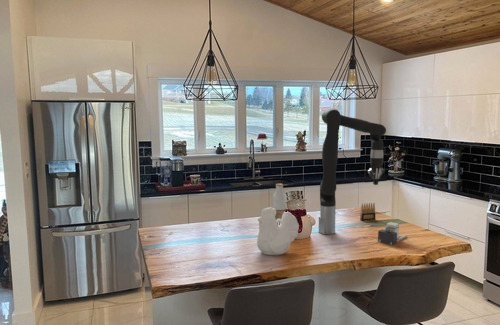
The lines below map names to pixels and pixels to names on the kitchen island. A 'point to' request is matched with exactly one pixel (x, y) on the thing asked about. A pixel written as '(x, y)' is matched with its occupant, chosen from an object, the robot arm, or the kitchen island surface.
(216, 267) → the kitchen island surface
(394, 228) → the grooved white block
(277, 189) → the white bottle
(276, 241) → the decorative rooster
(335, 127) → the robot arm
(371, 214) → the ammunition clip
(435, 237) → the kitchen island surface
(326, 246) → the kitchen island surface
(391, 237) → the grey boxy device
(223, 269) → the kitchen island surface
